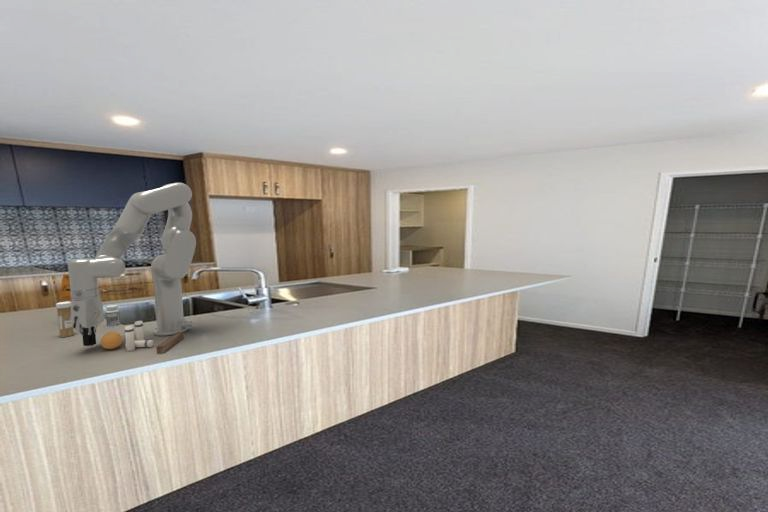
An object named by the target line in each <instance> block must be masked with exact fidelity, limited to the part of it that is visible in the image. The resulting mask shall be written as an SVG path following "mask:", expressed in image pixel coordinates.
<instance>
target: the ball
mask: <svg viewBox="0 0 768 512" xmlns="http://www.w3.org/2000/svg"><path fill="white" fill-rule="evenodd" d="M122 342H123V336H122V335H121V334H120V333H119V332H116V331H109V332H107V333H105V334H104V335H103V336H102V337H101V339H100V344H101V346H102V348H104V349H106V350H115V349H117V348H118V347H119V346H120V345H121V344H122Z"/></svg>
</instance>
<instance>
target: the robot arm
mask: <svg viewBox="0 0 768 512" xmlns="http://www.w3.org/2000/svg"><path fill="white" fill-rule="evenodd" d="M192 196H193V192H192V189H191V188H190V186H188V185H187V184H185V183H184V182H174V183H167V184H164V185H162V186H161V187H158V188H154V189H150V190H145V191H140V192H139V191H138V192H135V193H133V194H132V195H131V196H130V198H129V199H128V200H127V203H126V205H125V207H124V209H123V211H122V212H121V214H120V216H119V218H118V220H117V222H116V223H115V225H114V227H113V228H112V230H111V231H110V233H109V234H108V235H107V237H106V239H105V240H104V241H103V243H102V244H101V246H100V248H99V250H98V252H97V253H96V255H95V258H94V259H93V258H89V257H88V258H74V259H71V260H69V261H68V263H67V268H68V274H69V280H70V291H71V300H72V301H71V323H72V327H73V329H75V331H74V334H75V333H76V334H80V335H81V336H82V344H83V346H84V347H92V346H95V345H97V337H96V333H97V328H98V326H99V325H100V324H102V323H104V321H105V312H104V306H103V301H102V298H101V296H100V289H99V280H98V279H113V278H118V277H120V276H121V275H122V274H124V272H125V271H126V264H125V262H124V261H123V260H122V257H123V255H124V253H125V252H126V250H127V249H128V248H129V247H130V245H132V244H133V243H134V242H136V241H137V240H138V239H139V238H140V237H141V236H142V235H143V232H144V230H145V228H146V226H147V224H148V222H149V220H150V218H151V216H152V215H154V214H158V213H162V212H165V211H168V213H167V220H166V224H165V226H164V230H163V232H162V236H161V239H160V240H161V246H162V247H163V249H165V250H166V253H163V254H159V255H157V256H155V258H154V259H152V262H151V264H150V265H151V266H150V271H151V278H152V282H153V288H154V292H153V293H154V304H155V305H154V306H155V317H156V328H154V329H153V330H152V334H153V335H154V336H158V337H159V336H161V337H162V336H173V335H174V334H176V333H177V332H183V333H184V332H186V331H188V330H189V327H191V328H193V327H194V326H195V323H194V320H187V318H186V317H184V306H183V305H184V304H183V303H184V302H183V287H182V286H183V285H182V280H181V279H183V278H185V277H186V275H187V274H188V273H189V271H190V268H191V265H192V262H193V259H194V255H195V251H196V246H197V239H196V236H195V234H194V233H193V232H192V231H191V230H190V229H191V225H192V222H193V221H192V220H193V212H192V208H191V205H190V203H189V202H190V201H191V199H192Z"/></svg>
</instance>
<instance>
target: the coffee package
mask: <svg viewBox="0 0 768 512" xmlns="http://www.w3.org/2000/svg"><path fill="white" fill-rule="evenodd" d="M71 301H72V300H71V291H70V280H69V273H67V274H66V273H64V274H63V275H62V279H61V285H60V291H59V303H60V302H71Z"/></svg>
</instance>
